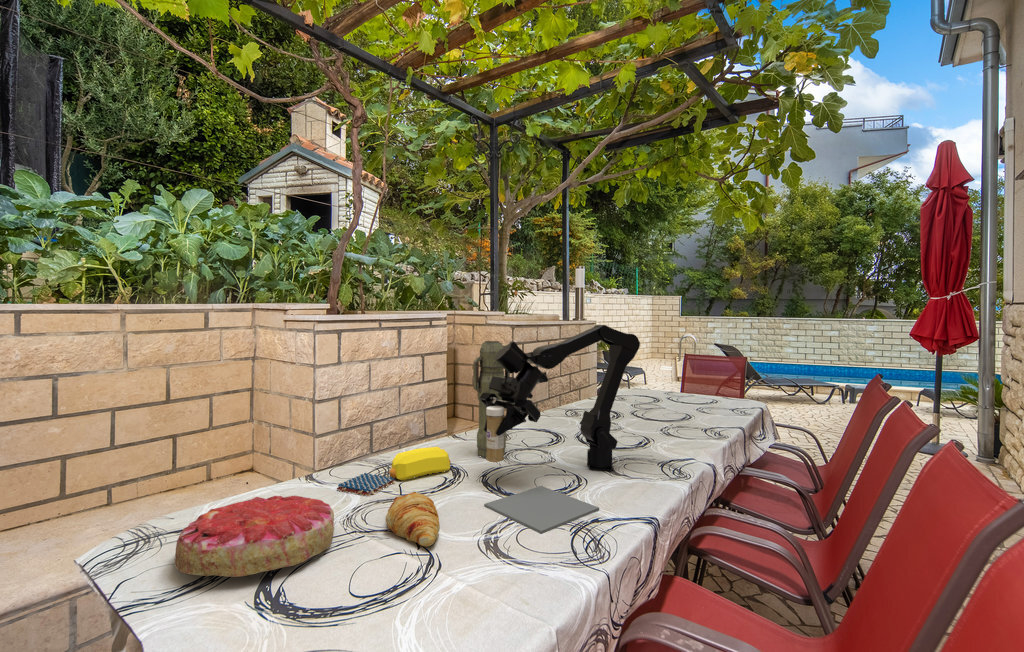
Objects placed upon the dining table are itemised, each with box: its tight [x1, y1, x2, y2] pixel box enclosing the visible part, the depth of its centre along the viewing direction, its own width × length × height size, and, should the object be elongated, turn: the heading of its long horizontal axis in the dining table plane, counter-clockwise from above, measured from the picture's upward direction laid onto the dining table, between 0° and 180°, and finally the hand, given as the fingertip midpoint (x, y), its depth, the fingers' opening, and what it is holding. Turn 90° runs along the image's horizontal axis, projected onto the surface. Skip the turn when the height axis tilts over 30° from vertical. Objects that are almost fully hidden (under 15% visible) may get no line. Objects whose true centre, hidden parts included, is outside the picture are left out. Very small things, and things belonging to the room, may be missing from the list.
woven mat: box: [336, 472, 396, 497], centre depth 118 cm, size 10×11×2 cm
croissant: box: [385, 491, 440, 548], centre depth 94 cm, size 21×10×8 cm, turn 30°
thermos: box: [473, 340, 511, 459], centre depth 146 cm, size 9×12×35 cm
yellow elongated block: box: [388, 446, 452, 481], centre depth 128 cm, size 18×7×8 cm
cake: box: [174, 495, 335, 578], centre depth 85 cm, size 25×25×8 cm
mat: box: [483, 485, 600, 534], centre depth 105 cm, size 18×18×1 cm
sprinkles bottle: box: [485, 406, 505, 463], centre depth 120 cm, size 5×5×14 cm
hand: (491, 433), depth 119 cm, fingers closed on sprinkles bottle, 4 cm apart
